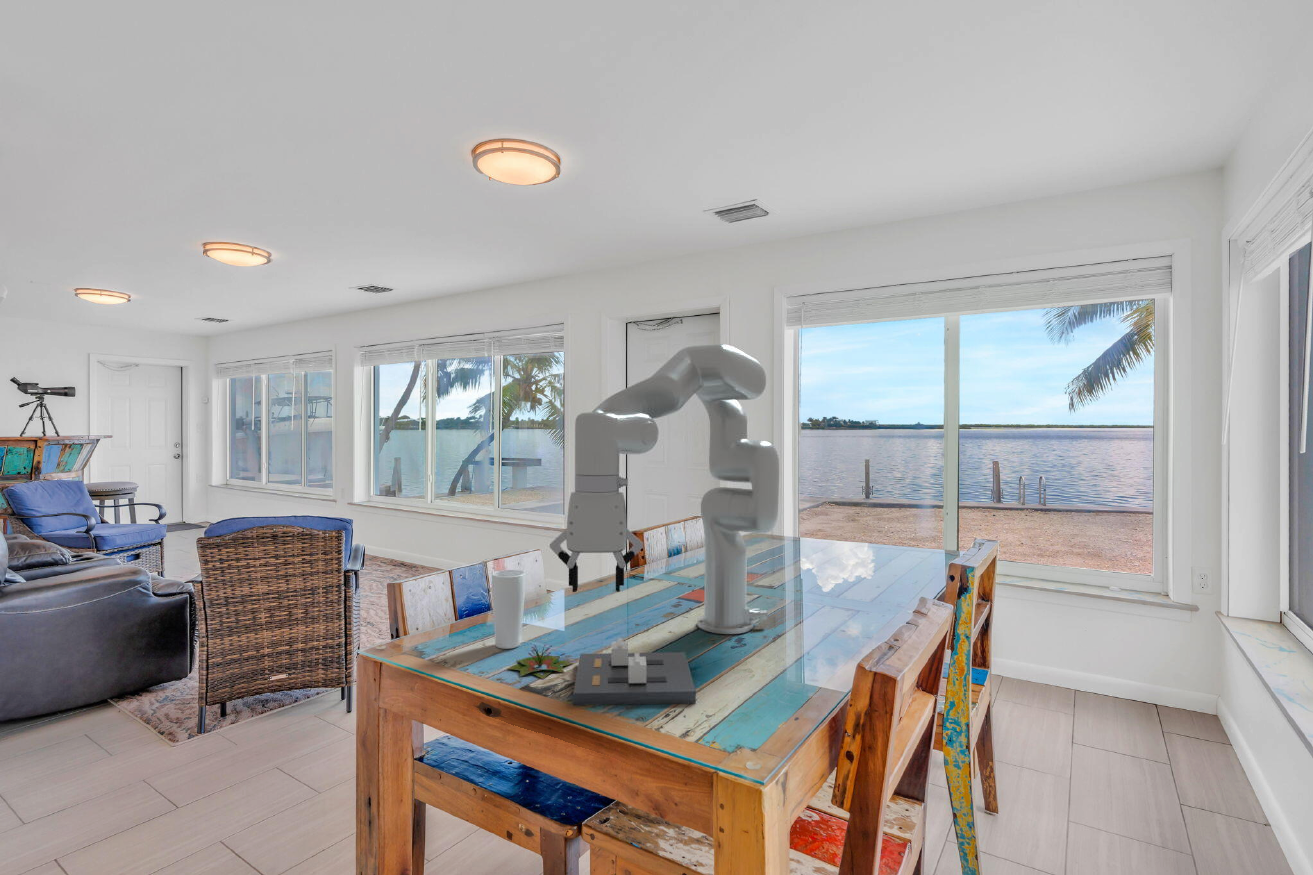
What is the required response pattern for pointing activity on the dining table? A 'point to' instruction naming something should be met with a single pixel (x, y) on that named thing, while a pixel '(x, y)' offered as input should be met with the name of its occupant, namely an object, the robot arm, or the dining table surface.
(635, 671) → the block
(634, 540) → the robot arm
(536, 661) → the lily flower
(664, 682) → the breaker panel
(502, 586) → the drinking glass
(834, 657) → the dining table surface
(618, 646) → the breaker
